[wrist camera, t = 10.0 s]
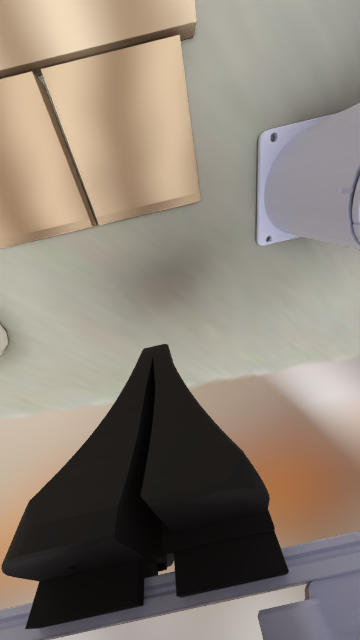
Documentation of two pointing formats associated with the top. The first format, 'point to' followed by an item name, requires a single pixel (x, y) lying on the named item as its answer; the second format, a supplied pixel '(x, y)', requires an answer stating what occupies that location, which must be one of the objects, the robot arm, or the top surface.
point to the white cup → (3, 340)
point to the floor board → (83, 29)
